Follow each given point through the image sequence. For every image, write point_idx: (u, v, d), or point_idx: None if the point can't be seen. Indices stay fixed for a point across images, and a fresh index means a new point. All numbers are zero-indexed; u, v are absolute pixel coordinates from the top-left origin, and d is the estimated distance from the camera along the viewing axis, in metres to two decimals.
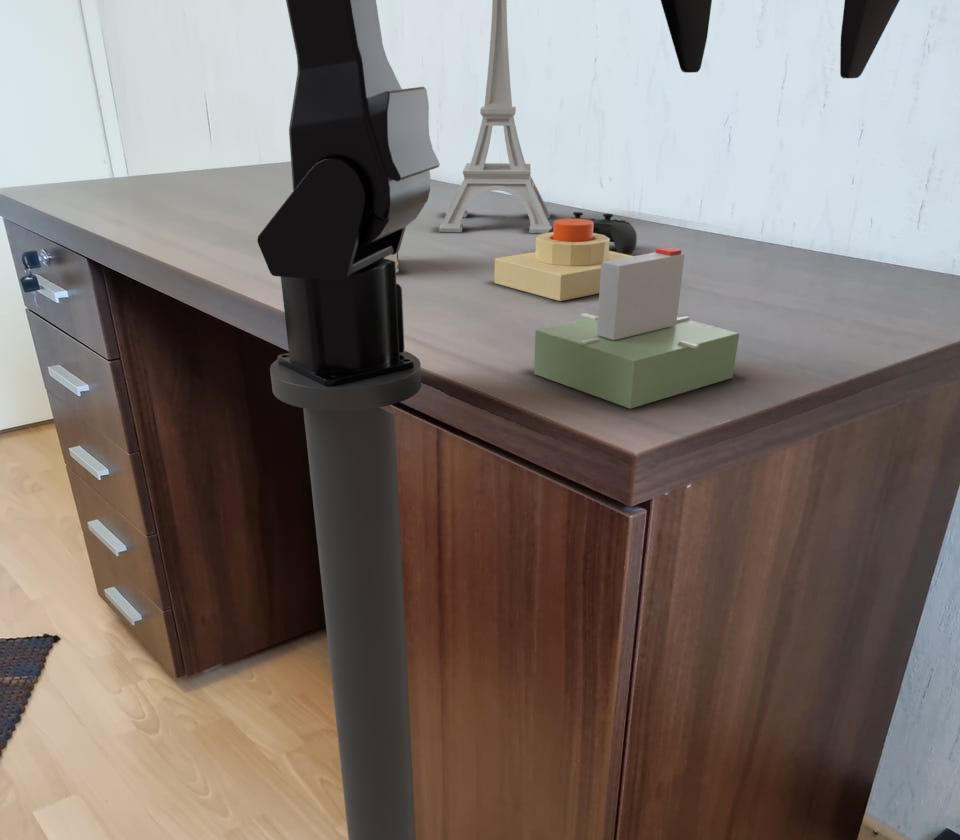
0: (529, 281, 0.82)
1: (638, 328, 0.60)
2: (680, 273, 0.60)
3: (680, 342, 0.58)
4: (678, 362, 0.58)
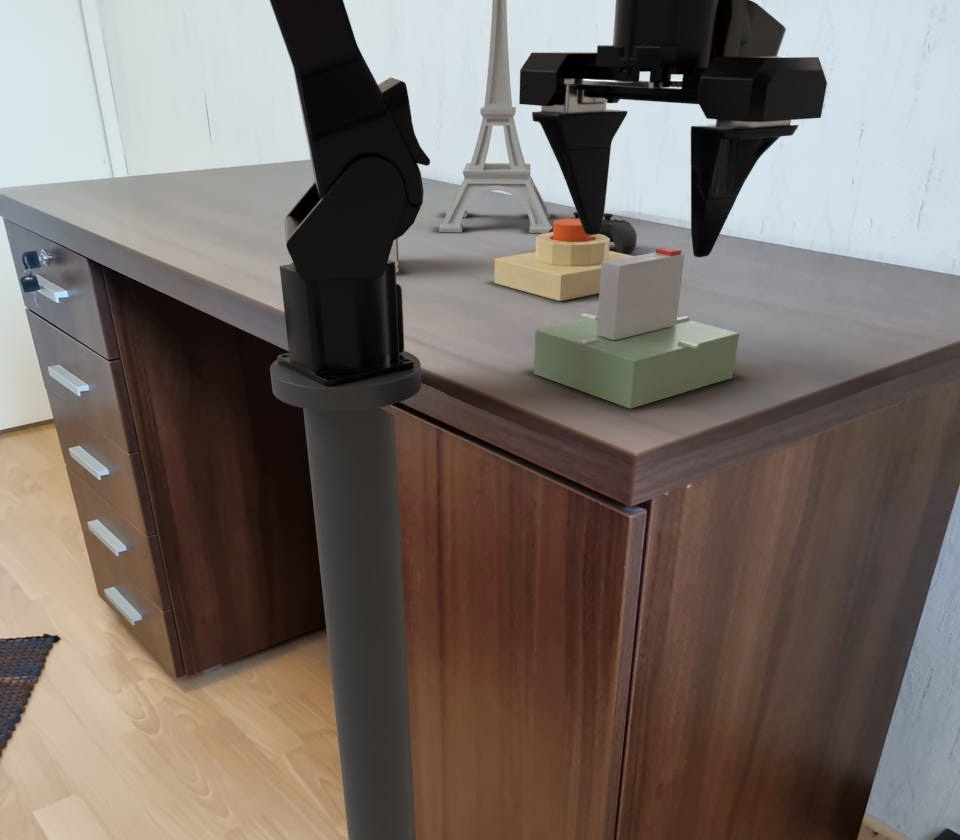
0: (529, 281, 0.82)
1: (638, 328, 0.60)
2: (680, 273, 0.60)
3: (680, 342, 0.58)
4: (678, 362, 0.58)
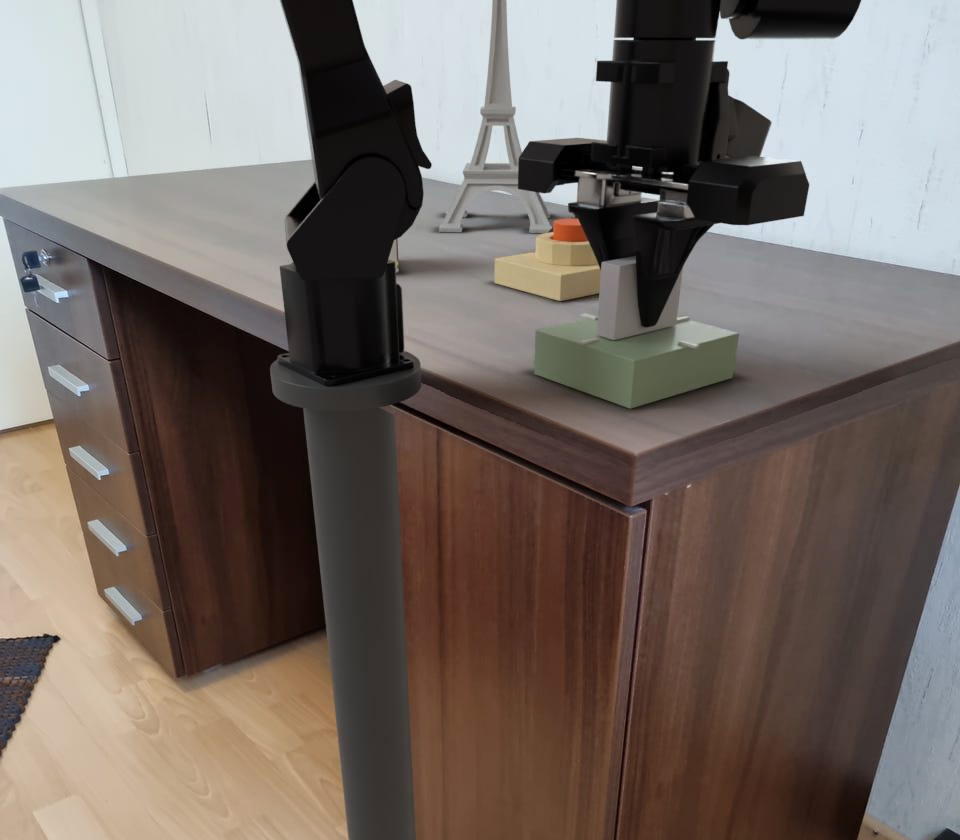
0: (529, 281, 0.82)
1: (638, 328, 0.60)
2: (680, 273, 0.60)
3: (680, 342, 0.58)
4: (678, 362, 0.58)
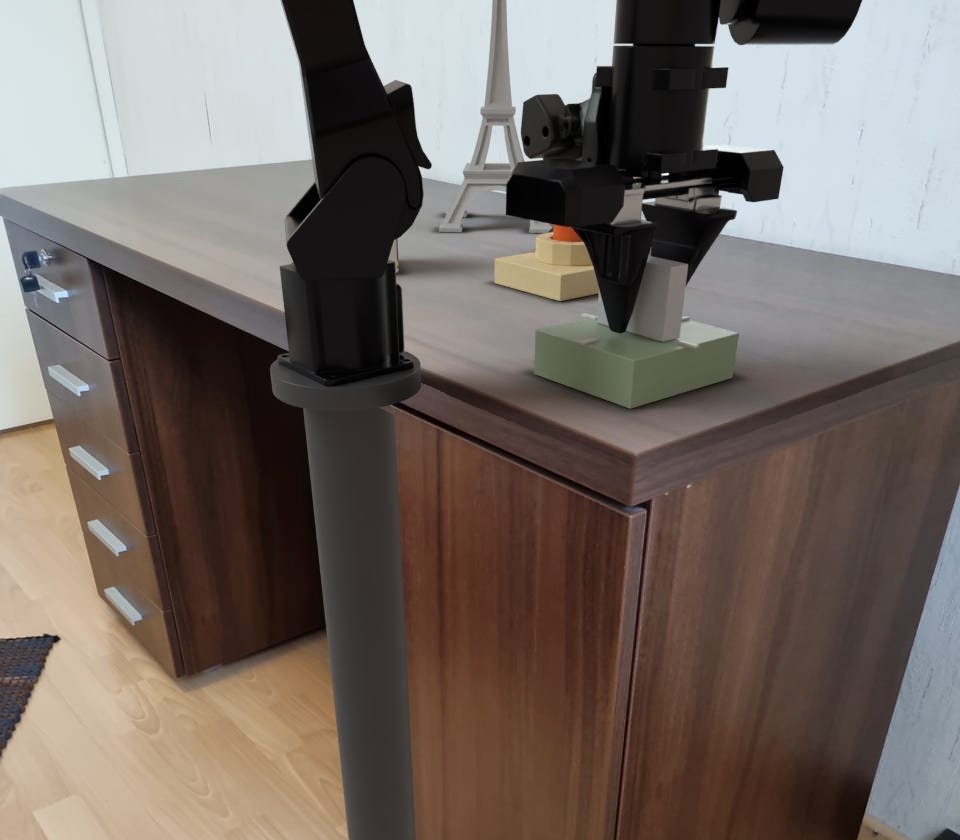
0: (529, 281, 0.82)
1: None
2: None
3: (680, 342, 0.58)
4: (678, 362, 0.58)
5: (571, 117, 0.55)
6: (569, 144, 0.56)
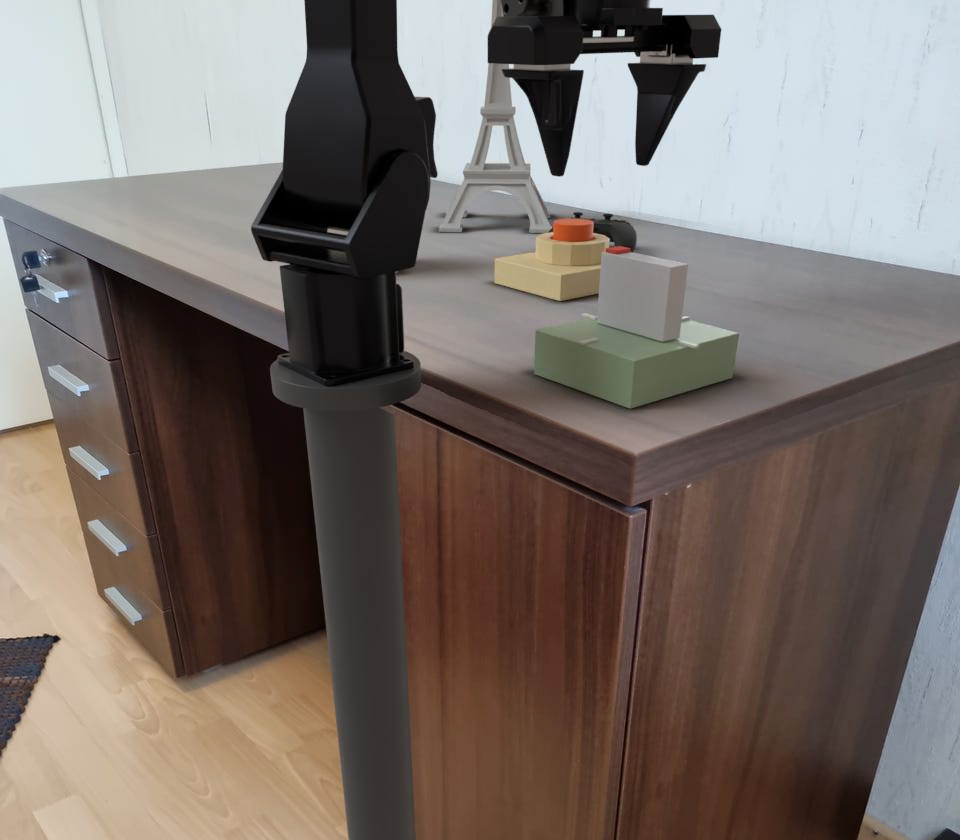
0: (529, 281, 0.82)
1: None
2: None
3: (680, 342, 0.58)
4: (678, 362, 0.58)
5: None
6: (541, 9, 0.68)
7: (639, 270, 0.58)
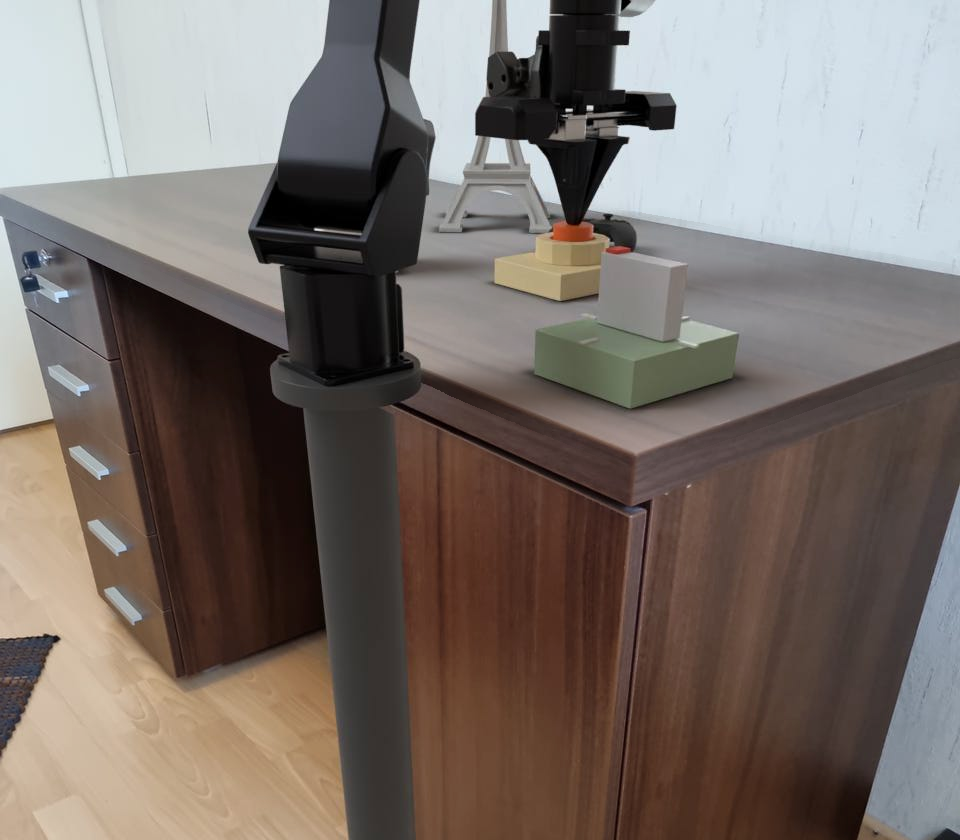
0: (529, 281, 0.82)
1: None
2: None
3: (680, 342, 0.58)
4: (678, 362, 0.58)
5: (522, 67, 0.77)
6: (521, 88, 0.79)
7: (639, 270, 0.58)
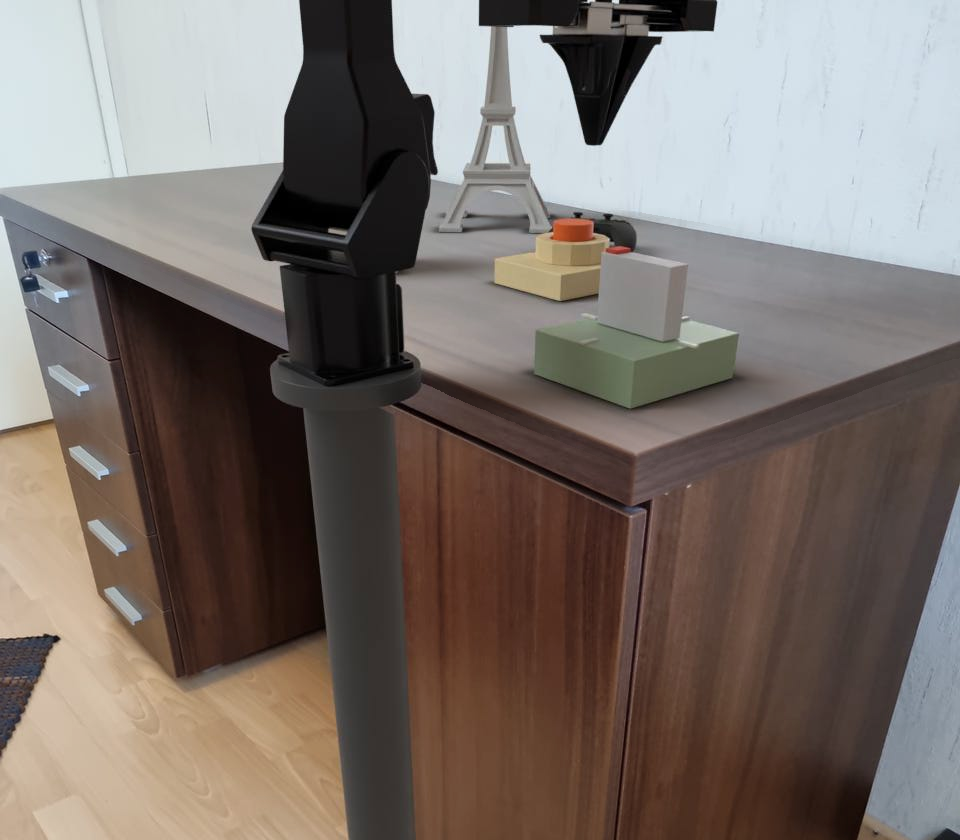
0: (529, 281, 0.82)
1: None
2: None
3: (680, 342, 0.58)
4: (678, 362, 0.58)
5: None
6: None
7: (639, 270, 0.58)
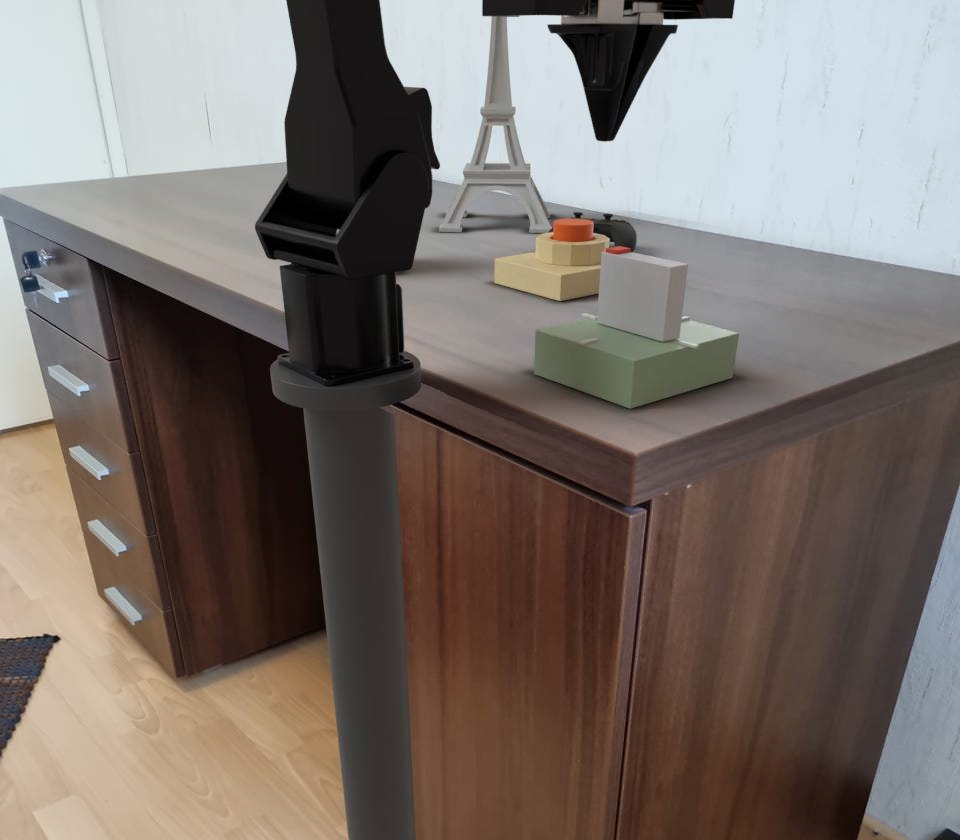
0: (529, 281, 0.82)
1: None
2: None
3: (680, 342, 0.58)
4: (678, 362, 0.58)
5: None
6: None
7: (639, 270, 0.58)
